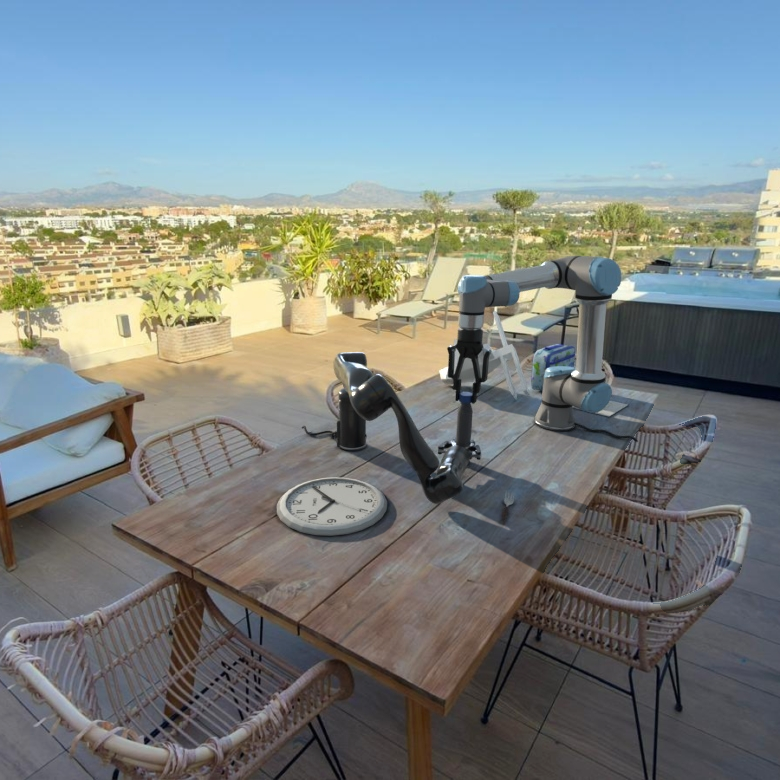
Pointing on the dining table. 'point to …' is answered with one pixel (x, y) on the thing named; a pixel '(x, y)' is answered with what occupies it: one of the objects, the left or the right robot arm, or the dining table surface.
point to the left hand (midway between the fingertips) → (464, 441)
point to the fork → (507, 502)
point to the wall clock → (331, 506)
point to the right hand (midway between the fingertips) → (465, 400)
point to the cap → (465, 397)
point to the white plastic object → (490, 363)
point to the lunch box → (550, 362)
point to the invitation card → (611, 408)
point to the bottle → (464, 424)
